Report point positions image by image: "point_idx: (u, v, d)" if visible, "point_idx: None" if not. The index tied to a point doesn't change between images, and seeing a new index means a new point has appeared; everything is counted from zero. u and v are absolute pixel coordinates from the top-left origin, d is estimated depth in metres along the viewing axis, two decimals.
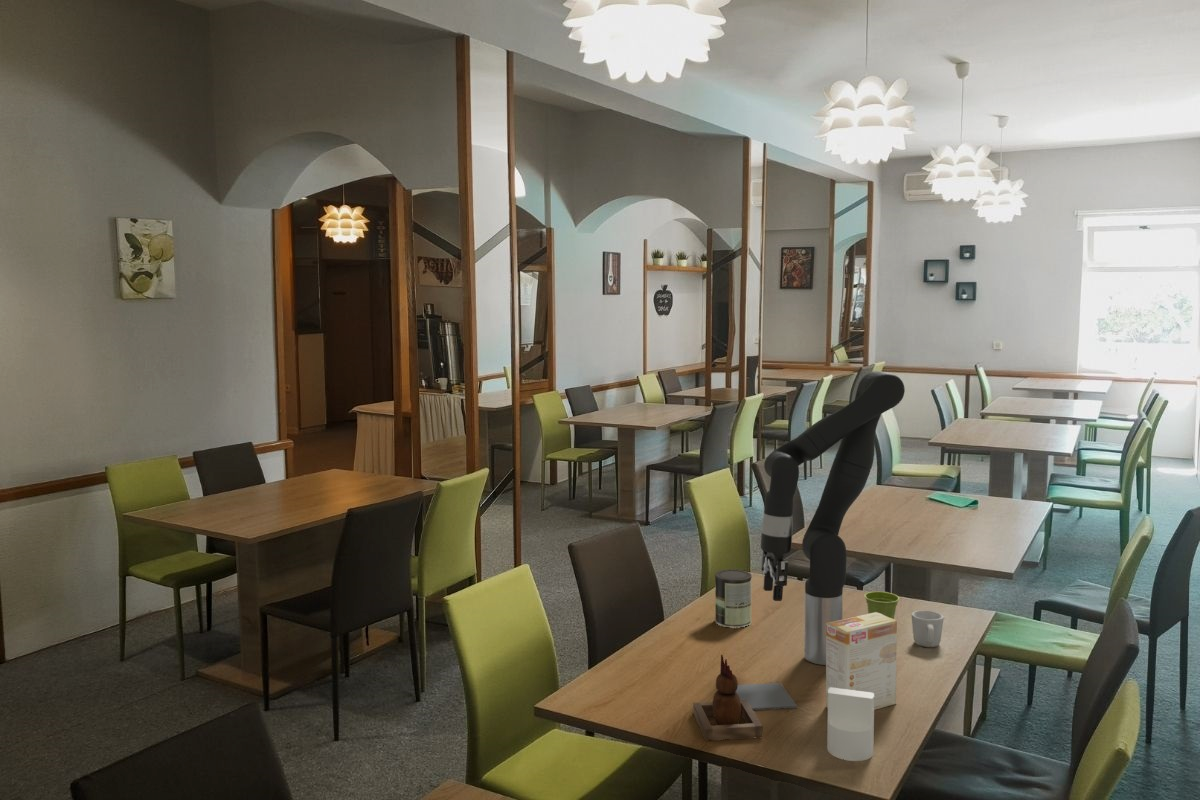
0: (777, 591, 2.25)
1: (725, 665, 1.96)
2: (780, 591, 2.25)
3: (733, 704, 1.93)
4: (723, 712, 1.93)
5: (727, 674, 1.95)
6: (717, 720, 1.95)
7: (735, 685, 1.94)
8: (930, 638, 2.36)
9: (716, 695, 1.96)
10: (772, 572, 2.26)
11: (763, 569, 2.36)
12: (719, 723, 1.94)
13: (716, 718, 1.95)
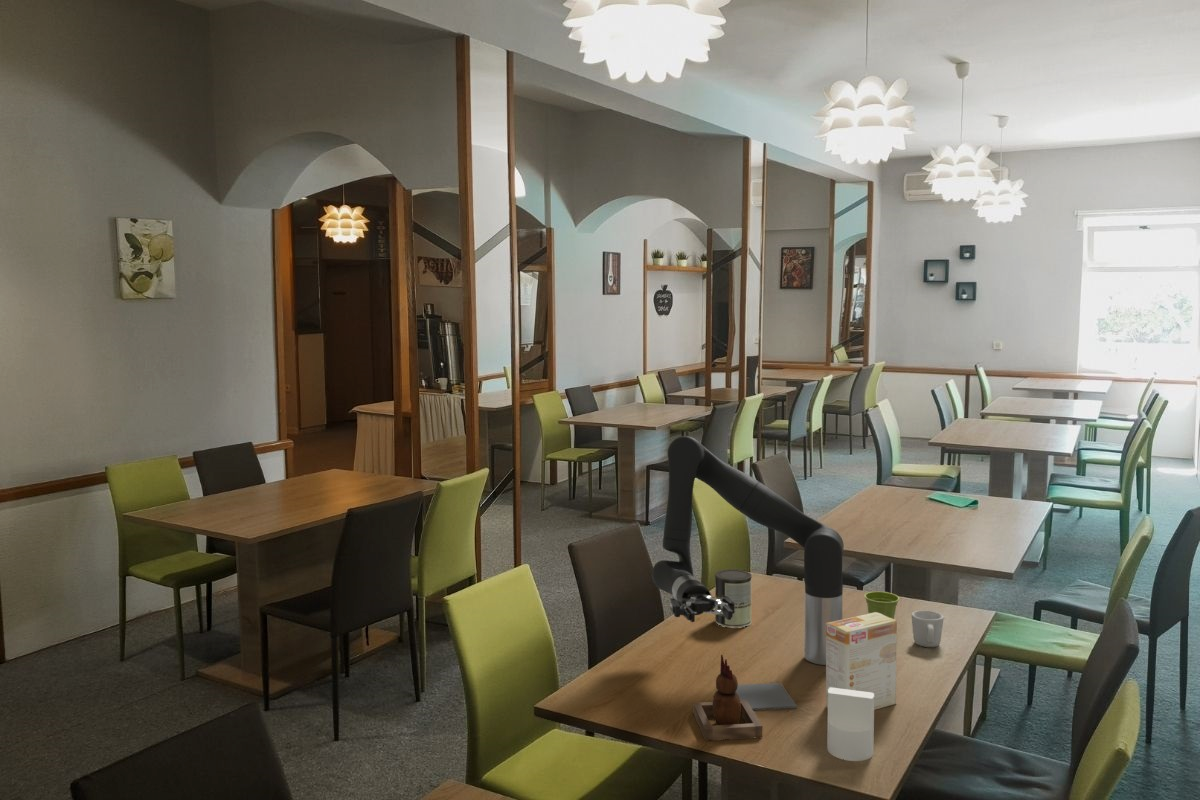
0: (685, 616, 2.07)
1: (725, 665, 1.96)
2: (685, 612, 2.07)
3: (733, 704, 1.93)
4: (723, 712, 1.93)
5: (727, 674, 1.95)
6: (717, 720, 1.95)
7: (735, 685, 1.94)
8: (930, 638, 2.36)
9: (716, 695, 1.96)
10: None
11: None
12: (719, 723, 1.94)
13: (716, 718, 1.95)
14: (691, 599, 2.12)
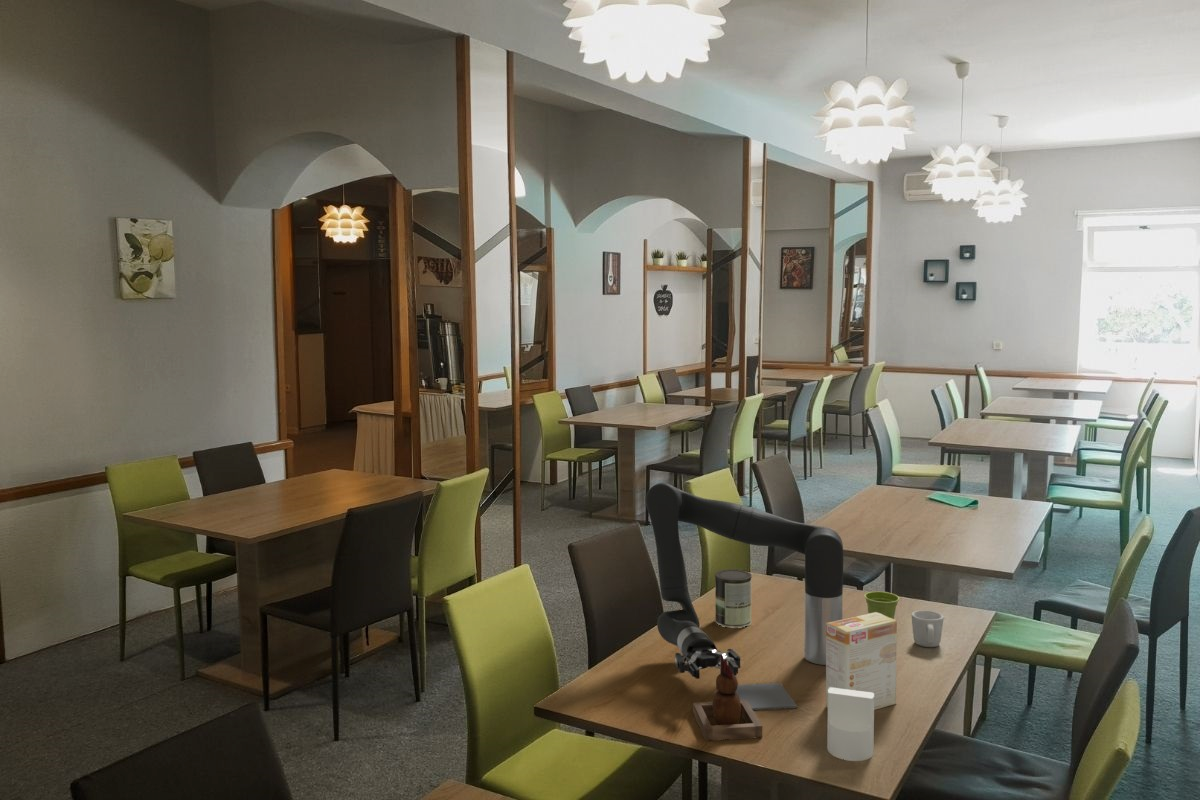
0: (690, 672, 2.04)
1: (725, 665, 1.96)
2: (690, 669, 2.04)
3: (733, 704, 1.93)
4: (723, 712, 1.93)
5: (727, 674, 1.95)
6: (717, 720, 1.95)
7: (735, 685, 1.94)
8: (930, 638, 2.36)
9: (716, 695, 1.96)
10: None
11: None
12: (719, 723, 1.94)
13: (716, 718, 1.95)
14: (696, 654, 2.09)
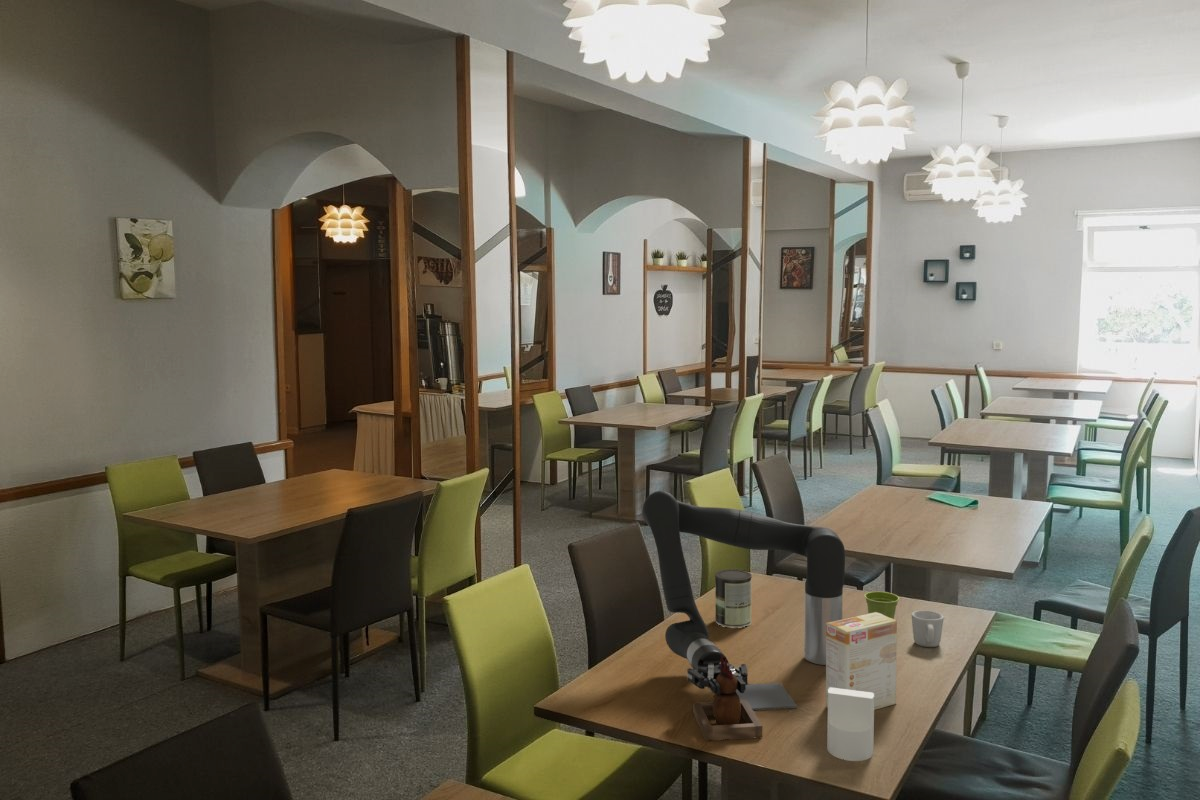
0: (710, 688, 1.95)
1: (725, 665, 1.96)
2: (710, 684, 1.95)
3: (733, 704, 1.93)
4: (723, 712, 1.93)
5: (727, 674, 1.95)
6: (717, 720, 1.95)
7: (735, 685, 1.94)
8: (930, 638, 2.36)
9: (716, 695, 1.96)
10: None
11: None
12: (719, 723, 1.94)
13: (716, 718, 1.95)
14: (710, 668, 2.00)
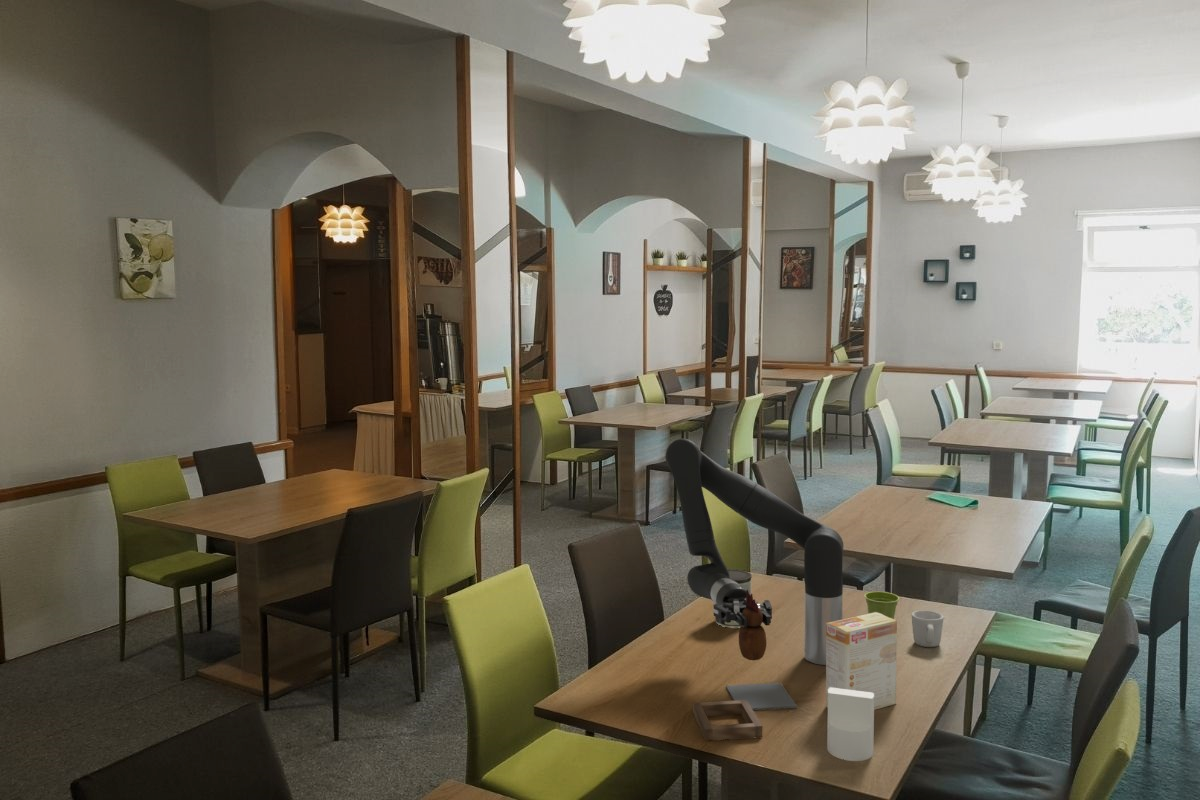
0: (737, 621, 2.03)
1: (751, 599, 2.03)
2: (737, 618, 2.02)
3: (759, 635, 2.01)
4: (749, 643, 2.01)
5: (753, 608, 2.02)
6: (743, 652, 2.02)
7: (761, 618, 2.02)
8: (930, 638, 2.36)
9: (742, 628, 2.03)
10: None
11: None
12: (745, 655, 2.02)
13: (742, 650, 2.02)
14: (736, 603, 2.08)
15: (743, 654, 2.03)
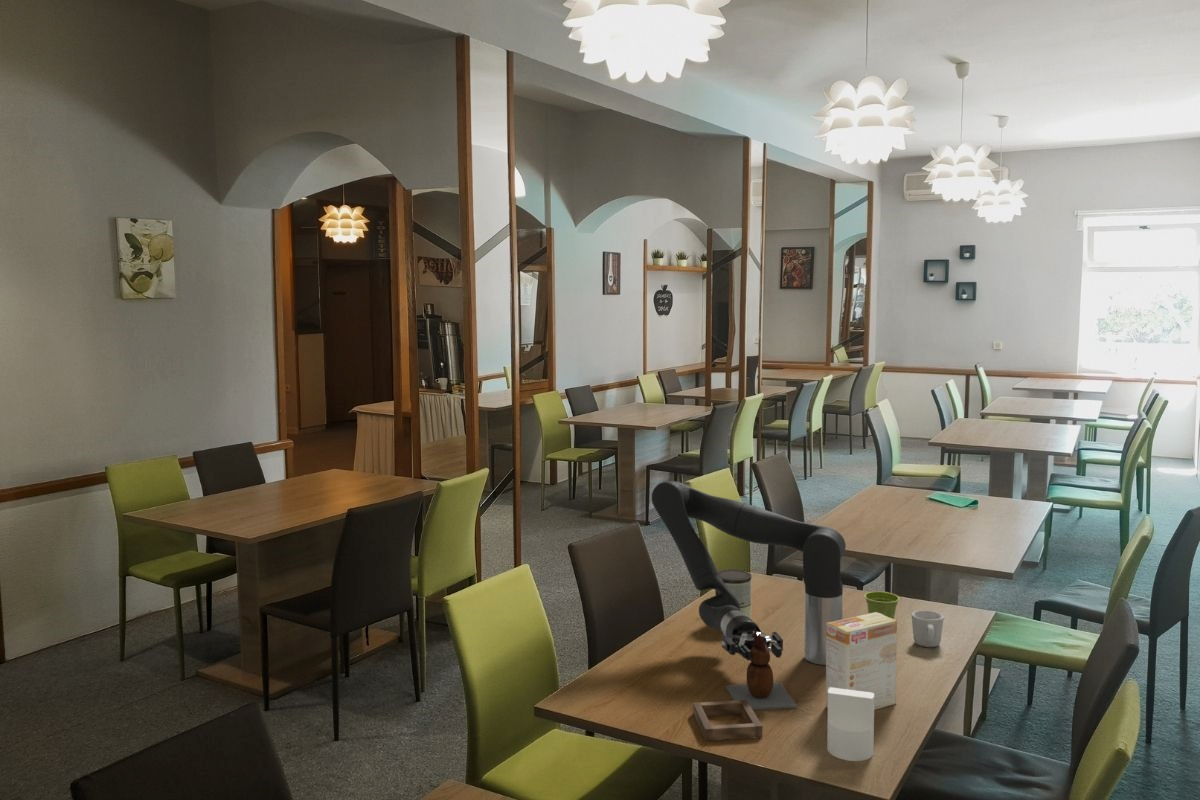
0: (741, 654, 2.09)
1: (758, 639, 2.10)
2: (741, 650, 2.09)
3: (766, 674, 2.07)
4: (756, 682, 2.07)
5: (760, 647, 2.09)
6: (751, 690, 2.09)
7: (768, 657, 2.08)
8: (930, 638, 2.36)
9: (750, 666, 2.10)
10: None
11: None
12: (753, 692, 2.09)
13: (750, 688, 2.09)
14: (743, 636, 2.14)
15: (751, 692, 2.09)
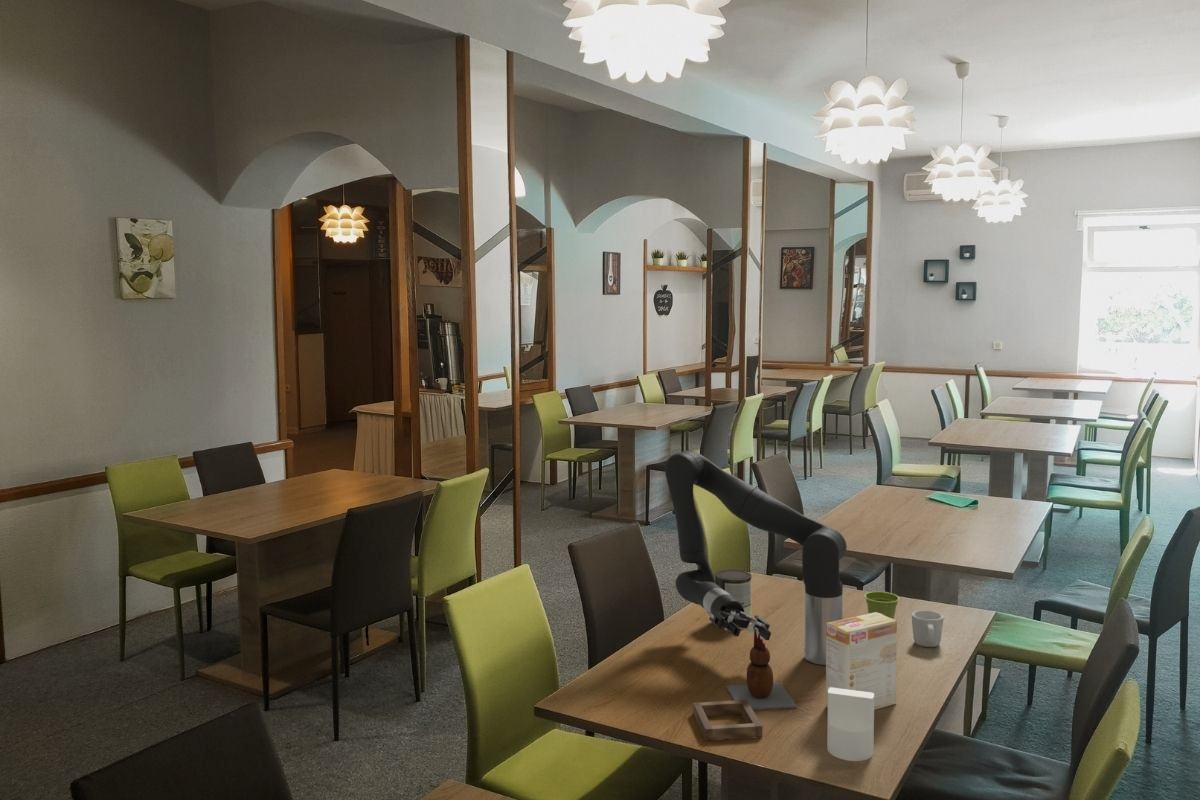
0: (729, 629, 2.20)
1: (758, 638, 2.10)
2: (730, 626, 2.20)
3: (766, 674, 2.07)
4: (756, 682, 2.07)
5: (760, 647, 2.09)
6: (751, 690, 2.09)
7: (768, 657, 2.08)
8: (930, 638, 2.36)
9: (750, 666, 2.10)
10: None
11: None
12: (753, 692, 2.09)
13: (750, 688, 2.09)
14: (732, 614, 2.25)
15: (751, 692, 2.09)
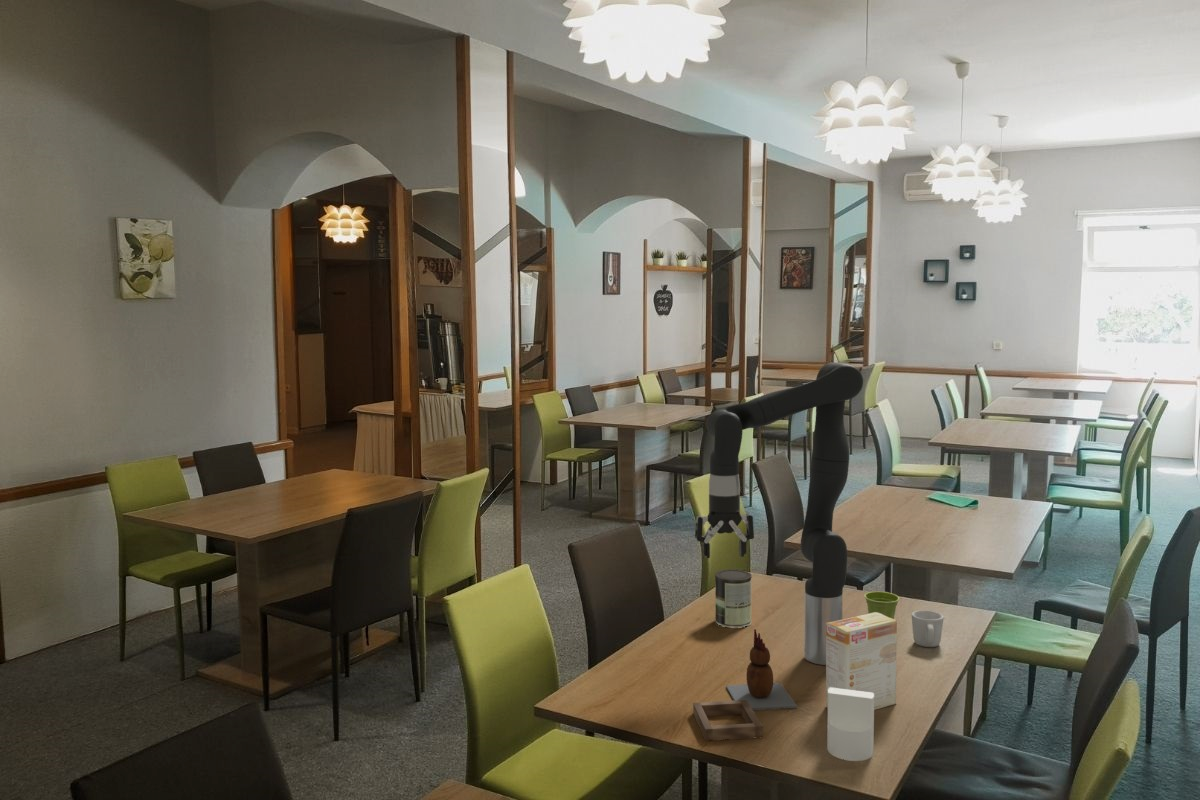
0: None
1: (758, 638, 2.10)
2: None
3: (766, 674, 2.07)
4: (756, 682, 2.07)
5: (760, 647, 2.09)
6: (751, 690, 2.09)
7: (768, 657, 2.08)
8: (930, 638, 2.36)
9: (750, 666, 2.10)
10: (740, 530, 2.25)
11: (701, 538, 2.24)
12: (753, 692, 2.09)
13: (750, 688, 2.09)
14: None
15: (751, 692, 2.09)
